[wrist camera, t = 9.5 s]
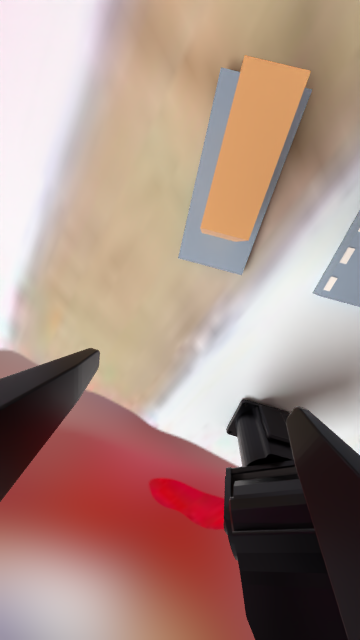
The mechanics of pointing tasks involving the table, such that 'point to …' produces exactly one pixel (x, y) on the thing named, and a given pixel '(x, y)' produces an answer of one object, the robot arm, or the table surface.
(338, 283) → the ticket board
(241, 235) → the stub
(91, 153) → the table surface
